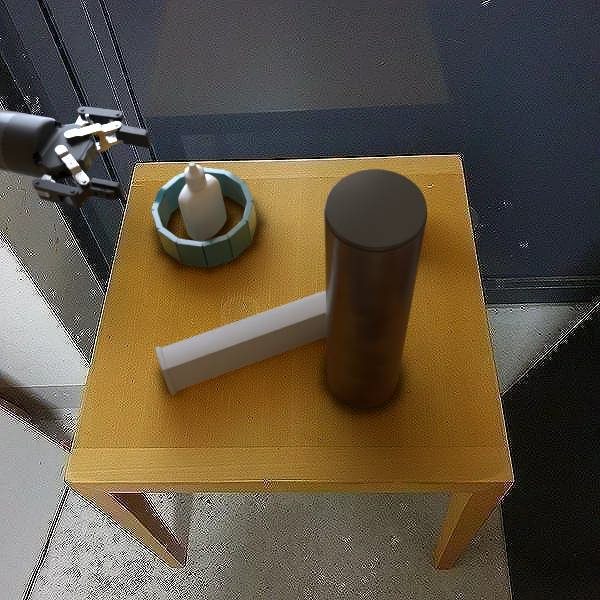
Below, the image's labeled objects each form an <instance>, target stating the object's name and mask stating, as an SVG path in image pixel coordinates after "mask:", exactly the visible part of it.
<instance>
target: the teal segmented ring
mask: <svg viewBox="0 0 600 600" xmlns="http://www.w3.org/2000/svg"><path fill="white" fill-rule="evenodd" d="M202 168H203V169H204V173H205V174H210V175H212V176H213V177H215V178H216V179H217V180H218V181H219V184H220V188H221V192H222V197H227V198H230V199H231V200H233V201H234V202H236V203H238V204H239V205H240V206H242V207H243V208H244V212H243V215H242V219H241V220H240V221H239V222H238V223H237V224H236V225H235V226H233V228H231V230H229V231H228V232H227V233H226V234H223V235H220V236H217V237H212V238H209V239H207V240H205V241H202V242H201V241H195V240H194V239H192V240H191V239H184V238H179V237H177V236H176V235H175V234H173V233H172V232H171V231H170V230H169V229H167V226H168V223H169V220H170V218H171V215H172V213H173V212H175V211H176V210H177V209H178V208H180V206H179V202H178V198H179V195H180V193H181V191H182V189H183V188H184V186H185V185H186V180H185V177H184V172H181V173H178V174H176V175H174V177H173V178H171V179H169V180H168V182H166V183H165V184H164V185H162V187H160V188H159V189H158V191H157V193H156V196H155V198H154V201H153V203H152V206H151V208H150V209H151V216H152V218H153V222H154V224H155V228H156V231H157V234H158V237H159V240H160V243H161V245H162V248H163V250H164V252H165V253H167V254H168V255H169V256H171V257H172V258H173V259H174V260H176V261H177V262H179V263H180V264H181V265H182V264H183V265H184V266H192V267H199V268H212V267H215V266H218V265H222V264H225V263H228V262H232V261H233V260H235V259H236V258H237V257H238V256H240V255H241V253H242V252H244V251H245V250H246V249H247V248H248V247H249V246H250V245H251V244H252V243H253V239H254V236H255V232H256V228H257V224H258V221H257V220H258V219H257V213H256V208H255V201H254V198H253V196H252V195H253V194H251V193H252V192H251V190H250V188H249V186H248V183H247V182H246V181H245V180H243V179H242V178H241V177H239V176H237V175H236V174H234V173H232V172H231V171H229V170H227V169H221V168H214V167H213V168H212V167H203V166H202Z"/></svg>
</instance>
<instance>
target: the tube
mask: <svg viewBox="0 0 600 600" xmlns="http://www.w3.org/2000/svg"><path fill="white" fill-rule="evenodd" d="M324 338H327V331H326V289H325V290H322V291H319V292H316V293H314V294H310V295H307V296H305V297H302V298H298V299H296V300H293V301H291V302H288V303H285V304H282V305H279V306H277V307H274V308H271V309H267V310H265V311H262V312H259V313H256V314H254V315H250V316H248V317H244V318H241V319H239V320H237V321H234V322H231V323H228V324H225V325H222V326H219V327H216V328H214V329H211V330H208V331H206V332H202V333H200V334H196V335H194V336H191V337H189V338H185V339H183V340H180V341H176V342H174V343H170V344H168V345H166V346H162V347H161V345H159V346H156V347H155V349H154V350H155V354H156V357H157V360H158V364H159V368H160V370H161V373H162V376H163V379H164V380H165V381H164V382H165V383H166V387H167V389H168V391H169V393H170V395H171V396H174V395H176V394H177V392H179V391H182V390H184V389H186V388H190V387H192V386H196V385H197V384H201V383H203V382H207V381H208V380H211V379H214V378H217V377H219V376H222V375H225V374H227V373H228V374H229V373H230V372H233V371H236V370H238V369H242V368H244V367H247V366H250V365H252V364H256V363H259V362H261V361H264V360H266V359H269V358H272V357H274V356H275V357H276V356H277V355H280V354H283V353H286V352H288V351H292V350H294V349H297V348H299V347H302V346H305V345H307V344H310V343H313V342H316V341H318V340H321V339H324Z"/></svg>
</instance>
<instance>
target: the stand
mask: <svg viewBox="0 0 600 600" xmlns="http://www.w3.org/2000/svg"><path fill="white" fill-rule="evenodd" d="M415 183H416V182H413V181H412V180H411V179H409V178H408V177H407V176H405V175H403V174H401V173H399V172H396V171H392V170H387V169H382V168H381V169H379V168H369V169H363V170H358V171H354V172H352V173H349V174H348V175H345V176H343V177H342V178H341V179H340V180H339V181H337V182H336V183H335V184H334V185H333V186H332V188H331V189H330V190H329V192H328V194H327V196H326V200H325V203H324V208H323V224H324V225H323V226H324V228H323V229H324V230H323V231H324V274H325V275H324V279H325V280H324V281H325V290H326V331H327V337H326V372H327V373H326V375H327V376H326V379H327V383H328V386H329V389H330V390H331V392H332V393H333V395H334V397H336V398H337V399H338V400H339V401H340V402H342V403H343V404H345V405H347V406H348V407H349V406H350V407H352V408H357V409H371V408H374V407H377V406H380V405H382V404H384V403H385V402H387V400H389V399H390V398H391V397H392V395H393V394H394V393H395V391H396V389H397V387H398V383H399V376H400V370H401V365H402V359H403V354H404V349H405V342H406V336H407V333H408V328H409V327H408V326H409V322H410V315H411V310H412V305H413V299H414V293H415V288H416V282H417V277H418V271H419V265H420V261H421V255H422V249H423V244H424V239H425V233H426V227H427V221H428V205H427V201H426V200H427V199H426V198H425V195H424V193H423V192H422V190H421V189H420V187H418V185H417V183H416V184H415Z"/></svg>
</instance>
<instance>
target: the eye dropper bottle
mask: <svg viewBox="0 0 600 600" xmlns="http://www.w3.org/2000/svg"><path fill="white" fill-rule="evenodd" d="M183 173H184V177H185V180H186V185H185V186H184V188H183V189H182V191H181V193H180V195H179V198H178V202H179V210H180V213H181V216H182V220H183V223H184V227H185V230H186V233H187V235H188V237H189V238H190V239H192V240H193V241H201V242H203V241H206V240H210V239H212V238H213V237H214V236H216V234H218V233H219V232H220V231H221V230H222V228H223V227H224V225H225V223H226V221H227V219H228V218H227V211H226V205H225V202H224V196H222V192H221V188H220V184H219V181H218V180H217V179H216V178H215V177H213V176H212V175H210V174H205V173H204V169H203V166H201V165H198V164H196V163H195V162H194V161H190V162H189V163H188V166H187V167H186V168H185V169H184V171H183Z"/></svg>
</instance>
